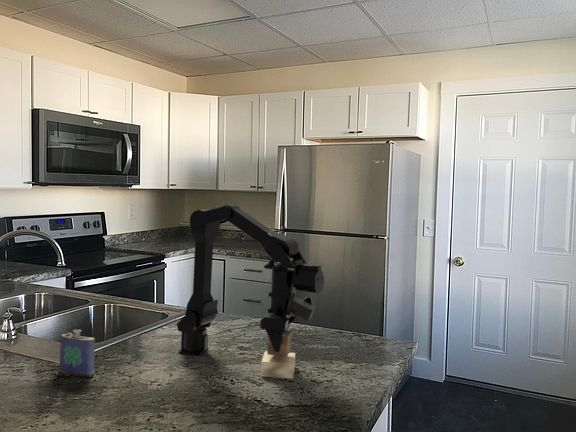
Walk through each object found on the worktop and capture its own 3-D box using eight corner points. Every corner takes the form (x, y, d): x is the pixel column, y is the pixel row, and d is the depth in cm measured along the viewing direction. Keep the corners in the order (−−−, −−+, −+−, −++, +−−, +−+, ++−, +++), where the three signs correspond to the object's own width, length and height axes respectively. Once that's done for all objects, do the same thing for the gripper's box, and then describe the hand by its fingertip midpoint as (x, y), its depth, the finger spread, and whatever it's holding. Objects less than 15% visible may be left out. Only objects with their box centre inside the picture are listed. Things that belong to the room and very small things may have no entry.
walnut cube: (267, 354, 122) (268, 334, 122) (271, 348, 127) (272, 329, 127) (286, 356, 121) (287, 337, 121) (290, 350, 126) (291, 331, 126)
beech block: (260, 377, 121) (261, 361, 121) (264, 365, 129) (265, 350, 129) (292, 379, 120) (293, 363, 120) (294, 367, 128) (295, 353, 128)
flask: (96, 374, 117) (97, 330, 117) (88, 378, 115) (89, 333, 114) (64, 368, 120) (64, 325, 119) (55, 372, 117) (56, 328, 116)
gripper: (307, 298, 113) (304, 364, 114) (319, 283, 131) (315, 340, 132) (260, 294, 115) (257, 359, 116) (278, 280, 133) (275, 336, 134)
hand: (279, 348), depth 124 cm, fingers closed on walnut cube, 5 cm apart
